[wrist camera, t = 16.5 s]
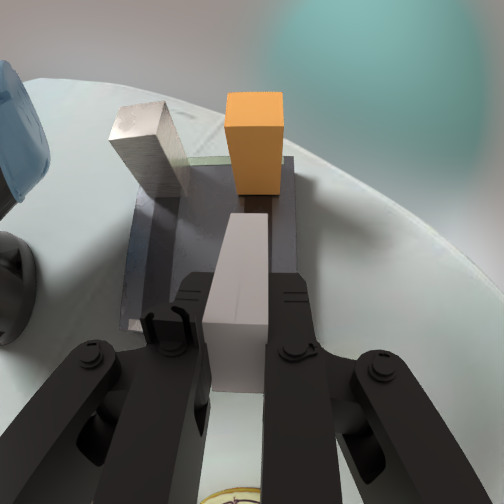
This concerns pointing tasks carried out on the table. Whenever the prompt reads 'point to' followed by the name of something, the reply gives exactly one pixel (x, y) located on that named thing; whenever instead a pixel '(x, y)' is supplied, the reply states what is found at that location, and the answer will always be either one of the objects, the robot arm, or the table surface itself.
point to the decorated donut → (234, 496)
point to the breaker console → (186, 210)
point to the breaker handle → (255, 141)
